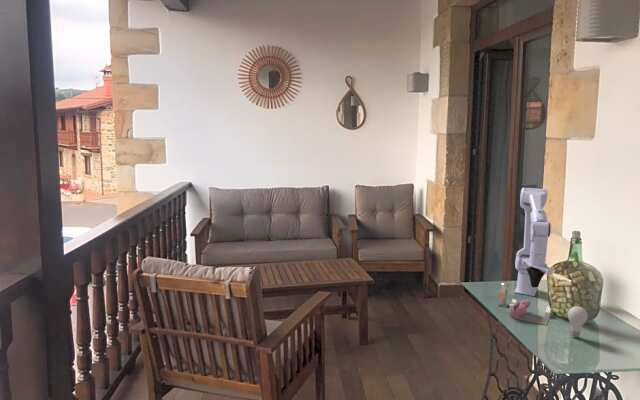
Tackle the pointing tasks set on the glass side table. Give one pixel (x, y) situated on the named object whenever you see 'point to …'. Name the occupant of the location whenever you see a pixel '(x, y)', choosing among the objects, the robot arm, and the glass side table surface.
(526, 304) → the video game controller
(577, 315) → the lightbulb
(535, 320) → the mat
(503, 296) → the orange and grey bar
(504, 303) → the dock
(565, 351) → the glass side table surface
